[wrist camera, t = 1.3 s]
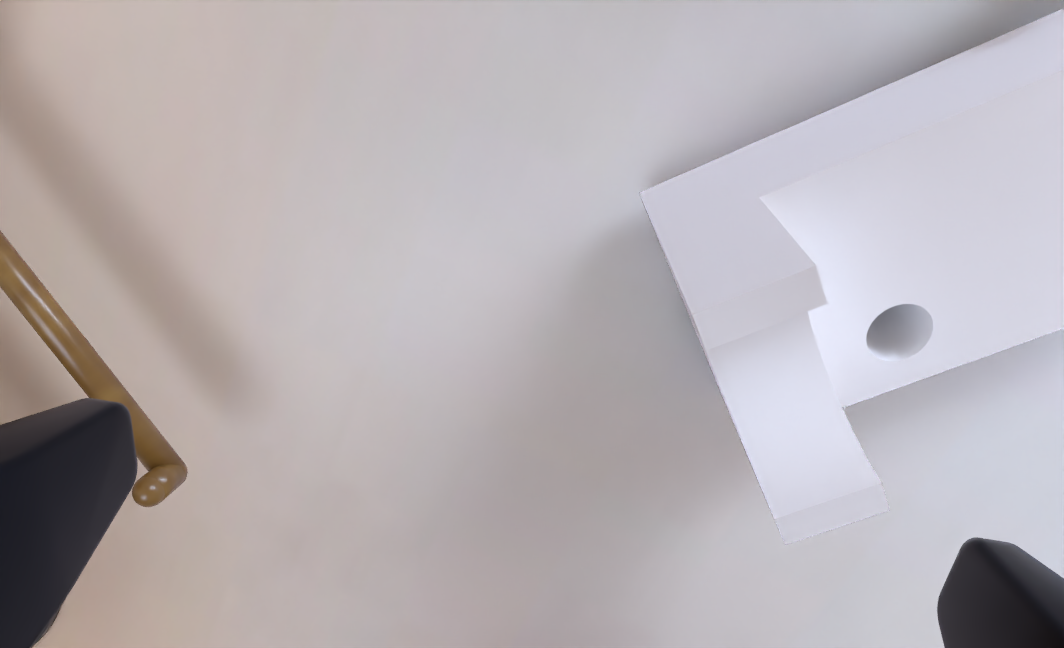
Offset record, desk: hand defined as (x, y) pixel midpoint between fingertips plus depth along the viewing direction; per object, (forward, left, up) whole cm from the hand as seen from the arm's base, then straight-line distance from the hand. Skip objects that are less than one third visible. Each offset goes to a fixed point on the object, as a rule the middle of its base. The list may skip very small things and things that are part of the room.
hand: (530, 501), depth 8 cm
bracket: (+5, -8, -16) cm, 19 cm away
